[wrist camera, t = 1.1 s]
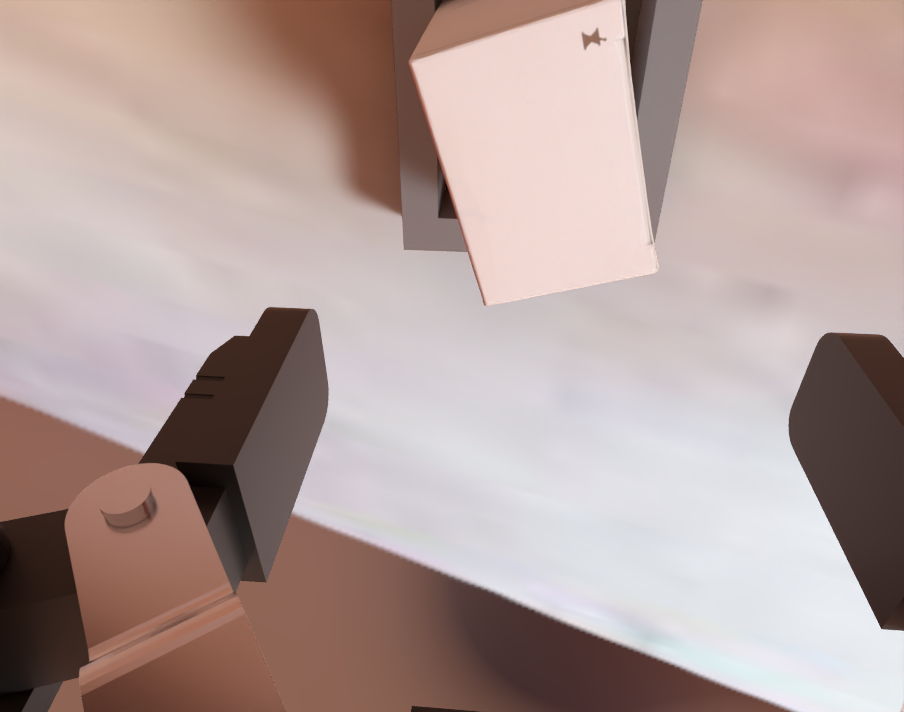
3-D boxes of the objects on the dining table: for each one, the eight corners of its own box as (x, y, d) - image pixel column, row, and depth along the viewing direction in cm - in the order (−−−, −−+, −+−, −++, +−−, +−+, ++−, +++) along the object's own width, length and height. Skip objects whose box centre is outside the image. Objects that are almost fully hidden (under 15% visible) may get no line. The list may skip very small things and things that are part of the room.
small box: (441, -5, 25) (400, 51, 16) (588, -53, 24) (625, -18, 15) (492, 189, 29) (481, 313, 21) (618, 158, 28) (661, 277, 19)
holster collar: (701, -108, 22) (723, -106, 20) (640, 228, 30) (651, 258, 27) (400, -107, 23) (385, -106, 21) (413, 220, 30) (403, 249, 28)
